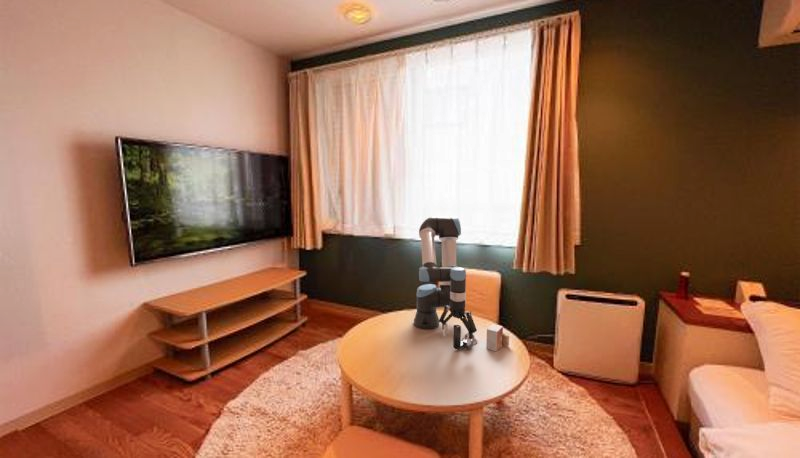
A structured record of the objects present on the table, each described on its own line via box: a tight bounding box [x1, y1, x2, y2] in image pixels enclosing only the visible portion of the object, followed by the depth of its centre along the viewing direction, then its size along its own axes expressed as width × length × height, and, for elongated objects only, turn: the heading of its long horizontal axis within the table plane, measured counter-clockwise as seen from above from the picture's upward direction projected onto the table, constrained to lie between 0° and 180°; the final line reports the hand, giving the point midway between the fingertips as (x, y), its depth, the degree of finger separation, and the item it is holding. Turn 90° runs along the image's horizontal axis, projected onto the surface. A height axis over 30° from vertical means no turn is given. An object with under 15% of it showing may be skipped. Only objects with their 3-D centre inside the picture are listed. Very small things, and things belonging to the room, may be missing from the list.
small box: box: [485, 323, 504, 352], centre depth 167 cm, size 8×6×10 cm
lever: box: [452, 324, 475, 351], centre depth 168 cm, size 17×7×12 cm, turn 139°
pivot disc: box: [461, 336, 478, 346], centre depth 174 cm, size 8×8×1 cm
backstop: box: [502, 332, 510, 348], centre depth 171 cm, size 8×2×6 cm, turn 34°
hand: (456, 340), depth 163 cm, fingers open, 13 cm apart
